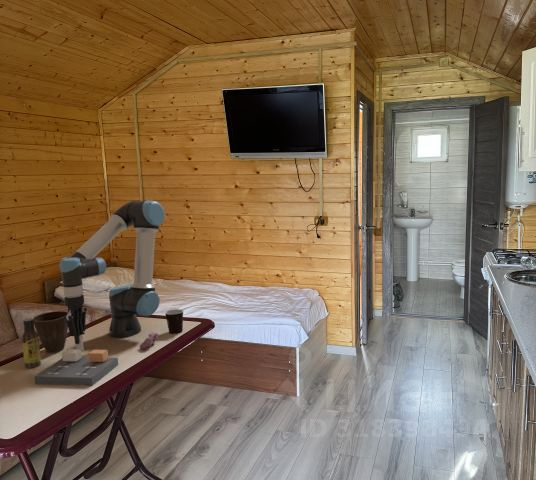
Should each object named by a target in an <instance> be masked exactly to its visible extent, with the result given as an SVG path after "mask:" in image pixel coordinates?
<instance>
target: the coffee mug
mask: <svg viewBox="0 0 536 480" xmlns="http://www.w3.org/2000/svg"><path fill="white" fill-rule="evenodd" d="M164 313H165V318H166V325H167V328H168V333H169V334H170V333H171V335H176V334H181V333H182V332H183V330H184V329H183V326H184V310H183V309H179V308H178V309H177V308H176V309H169V310H166V311H165V312H164Z"/></svg>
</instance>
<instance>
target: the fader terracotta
mask: <svg viewBox="0 0 536 480" xmlns="http://www.w3.org/2000/svg"><path fill="white" fill-rule="evenodd" d="M88 357H89V360H90V362H104V361H105V360H107V359H108V357H109V353H108V349H93V350H91V351H90V352H88Z"/></svg>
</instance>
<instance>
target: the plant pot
mask: <svg viewBox="0 0 536 480" xmlns="http://www.w3.org/2000/svg"><path fill="white" fill-rule="evenodd" d="M67 315H68V311H65V310H58V311H57V310H56V311H48V312H45V313H40V314H38V315H36V316H34V317H33V319H34V329H35V331H36V332H37V334H38V337H39V342H40V343H41V344H42V346H43V348H44V350H45V352H46V353H49V354H53V353H58V352H61V351H63V350H64V348H65V345H66V341H67V336H68V331H69V329H68V325H67V321H66V320H65V318H64V317H65V316H67Z"/></svg>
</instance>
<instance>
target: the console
mask: <svg viewBox="0 0 536 480" xmlns="http://www.w3.org/2000/svg"><path fill="white" fill-rule="evenodd" d="M81 357H82V358H80V359H79V360H77V361H63V359H62V358H60V359H59V360H57V361H56V362H54V363H53V364H51V365H49V366H48V367H46V368H45V369H44V370H42V371H40V372H38V373H37V374H36V375H34V383H35V385H36V384H37V385H63V386H94V385H95V384H97V383H98V382H99V381H100V380H101V379H103V378H104V377H105V376H106V375H107V374H109V373H110V372H112V371H113V369H115V368H116V367H118V366H119V357H109V356H108V359H107V360H105V361H104V362H90V360H89V356H81Z"/></svg>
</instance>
